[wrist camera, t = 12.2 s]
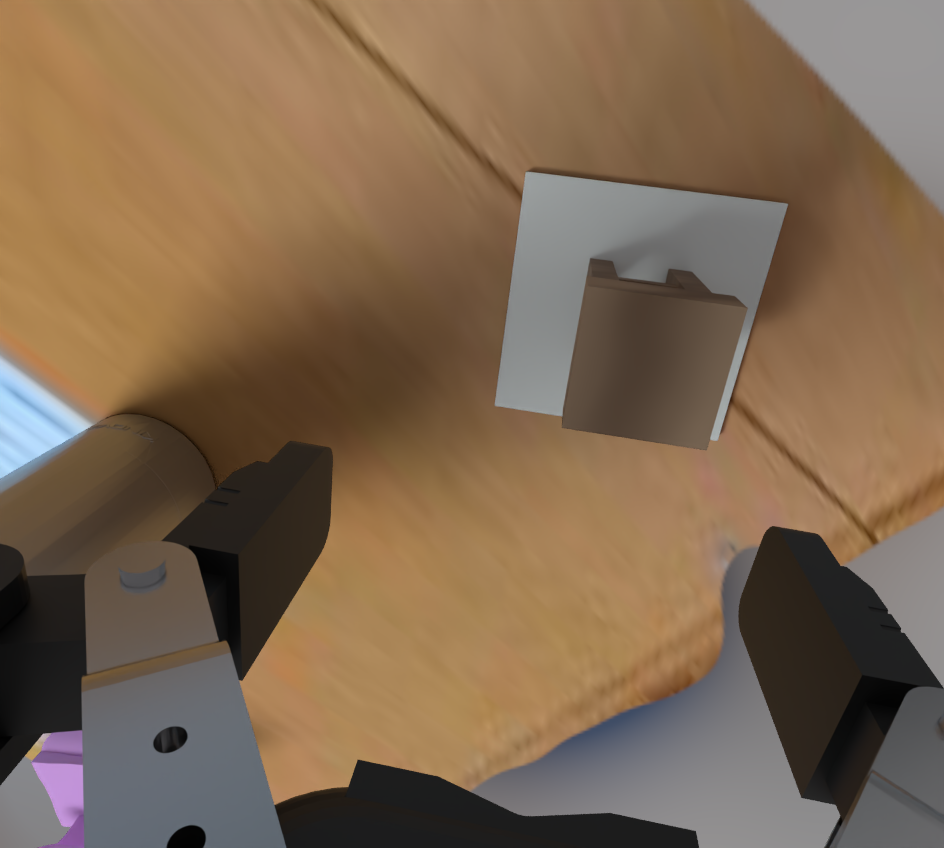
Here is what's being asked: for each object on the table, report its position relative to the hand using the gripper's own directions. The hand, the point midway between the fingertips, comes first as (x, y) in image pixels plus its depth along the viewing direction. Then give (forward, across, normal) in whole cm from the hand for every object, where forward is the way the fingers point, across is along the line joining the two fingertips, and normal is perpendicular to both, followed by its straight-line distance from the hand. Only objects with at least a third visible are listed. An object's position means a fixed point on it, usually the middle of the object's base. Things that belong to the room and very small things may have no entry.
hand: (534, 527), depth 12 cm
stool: (+22, -4, 0) cm, 22 cm away
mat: (+23, -4, 0) cm, 23 cm away
